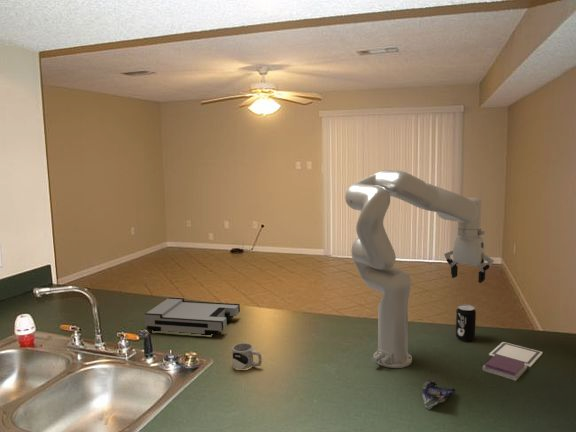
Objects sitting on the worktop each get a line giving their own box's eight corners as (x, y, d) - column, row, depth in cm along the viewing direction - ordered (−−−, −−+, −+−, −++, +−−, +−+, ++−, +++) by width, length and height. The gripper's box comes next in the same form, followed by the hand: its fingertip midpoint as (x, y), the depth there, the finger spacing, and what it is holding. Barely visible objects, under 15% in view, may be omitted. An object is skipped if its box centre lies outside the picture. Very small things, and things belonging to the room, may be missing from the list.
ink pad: (516, 380, 139) (516, 374, 138) (482, 370, 146) (482, 364, 145) (526, 368, 146) (527, 362, 146) (494, 359, 153) (494, 353, 152)
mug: (229, 369, 151) (228, 350, 150) (238, 360, 157) (237, 341, 156) (257, 373, 147) (257, 354, 146) (265, 364, 153) (265, 345, 152)
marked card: (530, 367, 147) (530, 365, 147) (488, 355, 156) (488, 353, 156) (542, 353, 156) (543, 351, 156) (502, 342, 165) (502, 341, 165)
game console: (222, 340, 174) (221, 319, 173) (145, 334, 182) (144, 314, 180) (240, 320, 194) (239, 301, 193) (170, 315, 202) (169, 297, 200)
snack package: (404, 396, 132) (435, 415, 122) (407, 374, 132) (438, 391, 122) (434, 392, 138) (466, 409, 128) (436, 371, 138) (469, 387, 128)
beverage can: (476, 342, 166) (477, 310, 164) (457, 341, 167) (458, 309, 165) (473, 335, 172) (474, 304, 170) (454, 334, 173) (455, 303, 171)
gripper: (498, 233, 160) (496, 281, 163) (450, 228, 172) (449, 273, 175) (489, 237, 155) (488, 286, 157) (440, 231, 167) (439, 277, 169)
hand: (467, 279), depth 166 cm, fingers open, 9 cm apart
